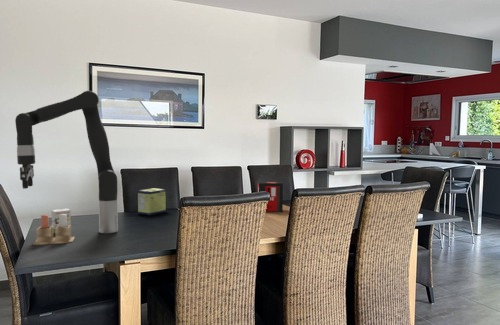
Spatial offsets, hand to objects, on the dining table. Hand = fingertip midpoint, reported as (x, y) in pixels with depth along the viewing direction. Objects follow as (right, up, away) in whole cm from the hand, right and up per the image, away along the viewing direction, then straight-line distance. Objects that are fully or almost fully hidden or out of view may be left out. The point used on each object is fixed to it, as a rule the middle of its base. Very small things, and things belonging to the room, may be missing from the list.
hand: (27, 187), depth 193 cm
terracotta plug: (+10, -22, -3) cm, 24 cm away
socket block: (+14, -26, -2) cm, 30 cm away
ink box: (+8, -25, +17) cm, 31 cm away
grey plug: (+18, -22, -1) cm, 28 cm away
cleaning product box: (+123, -22, +80) cm, 148 cm away
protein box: (+44, -22, +69) cm, 85 cm away
